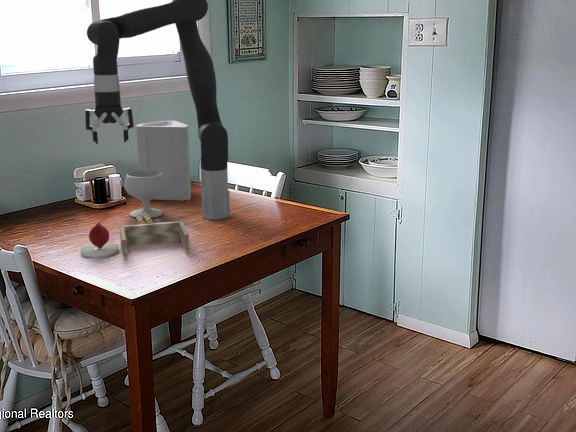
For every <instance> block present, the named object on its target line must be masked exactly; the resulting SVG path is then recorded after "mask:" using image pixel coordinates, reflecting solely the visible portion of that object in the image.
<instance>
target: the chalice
mask: <svg viewBox="0 0 576 432" xmlns="http://www.w3.org/2000/svg"><path fill="white" fill-rule="evenodd" d="M123 186H124V190H125V191H126V193H127V194H128V195H130V196H132V197H134V198H136V199H138V200H140V202H142V204H143V207H142V208H139V209H135V210H134V209H133V210H132V211H130V212H129V214H128V215H129V216H130V217H131V218H135V219H136V217H135V215H136V214H140V216H141V217H142V218H143V219H144V217H143V214H144V213H147V214H148V215H149V217H150V218H151V219H155V218H158V217H161V216H163V215H164V214H165V213H164V210H163V209H159V208H150V205H149V204H150V201H152V200H153V199H152V198H154V197H156V196H157V195H159V194H160V193H162V192H163V190H164V188H165V180H164V177H163V175H162V173H161V172H160V171H157V170H139V169H136V170H132V171H131V170H130V172H127V174H126V176H125V178H124V185H123Z"/></svg>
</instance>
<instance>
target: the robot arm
mask: <svg viewBox="0 0 576 432" xmlns="http://www.w3.org/2000/svg"><path fill="white" fill-rule="evenodd" d="M208 10H209V3H208V0H172V1H171V2H168V3H165V4H161V5H157V6H156V5H155V6H151V7H146V8H142V9H137V10H134V11H131V12H128V13H127V12H126V13H124V14H122V15H118V16H113V17H109V18H108V17H107V18H104V19H98V20H95V21H93V22H92V23H90V24H89V26H88V27H87V29H86V36H87V39H88V40H89V41H90V43H92V44H94V45H95V46H96V45H97V49H96V50H97V51H96V54H95V55H94V56H93V57H92V67H93V91H94V92H93V93H94V104H95V108H94V109H88V108H86V109H85V111H84V112H85V129H86V130H87V131H88V130H89V131H91V132H92V133H91V134H92V141H93V142H94V143H95V144H99V139H98V138H99V137H98V128H100V126H101V124H102V123H103V124H116V123H118V124H119V125H120V126H121V127H122V129H123V130H122V133H123V142H124V143H127V141H129V130H130V129H133V128H134V117H133V109H132V108H131V107H127V108H123V107H122V103H121V102H122V100H121V99H122V98H121V85H120V78H119V72H118V71H119V70H118V61H117V60H118V54H119V47H120V40H121V39H129V38H133V37H137V36H141V35H143V34H147V33H149V32H152V31H155V30H157V29H160V28H164V27H166V26H171V25H173V24H175V28H176V31H177V33H178V37H179V41H180V47H181V51H182V56H183V61H184V67H185V73H186V78H187V82H188V83H187V84H188V87H189V90H190V94H191V97H192V101H193V103H194V106H195V111H196V119H197V133H198V139H199V141H200V163H199V164H200V166H199V167H200V189H201V191H200V192H201V193H200V194H201V215H202V218H203V219H206V220H215V221H216V220H223V218H224V219H226V218H230V217H231V206H230V205H231V198H230V190H229V180H228V179H229V178H228V176H229V175H228V174H229V172H228V162H229V136H228V135H229V134H228V131H227V129H226V128H225V127H224V125H223V123H222V120H221V117H220V113H219V112H220V111H219V109H218V103H217V100H218V99H217V94H218V93H217V79H216V72H215V67H214V62H213V59H212V56H211V54H210V53H209V51H208V49H207V48H206V46H205V45H204V43H203V41H202V39H201V35H200V33H199V28H198V23H197V22H198V21H200V20H202V19H203V18H205V16H206V15H207V13H208ZM122 114H125V116H127V119H128V124H126V123H125V122H124V121H123V120H122V118H121V116H122ZM93 115H95V116H96V117H97V119H96V121H95V123H94V124H93V125H90V124H91V121H90V119H91V117H93Z"/></svg>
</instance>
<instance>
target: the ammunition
mask: <svg viewBox="0 0 576 432" xmlns="http://www.w3.org/2000/svg"><path fill="white" fill-rule="evenodd" d="M135 217H136V218H135V219H136V221H137V222H138V225H139V224H152V223H162V222H161V221H160V219H158V217H154V218H150V217H149V215H148V214H147V213H144V214H143V217H144V218H142V217H141V216H140V214H136V215H135ZM144 220H145V221H144Z"/></svg>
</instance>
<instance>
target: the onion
mask: <svg viewBox="0 0 576 432" xmlns="http://www.w3.org/2000/svg"><path fill="white" fill-rule="evenodd" d="M88 238H89V241H90V244H91V243H92V244H93V245H94V246H96V247H98V248H102V247H103V246H104V245H105V244H106V243H107V242H109V240H110V232H109V229H107V228H106V227H105V226H104V225H102V223H101V221H97V223H96V224H95V226H92V227H91V229H90V231H89V234H88Z"/></svg>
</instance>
